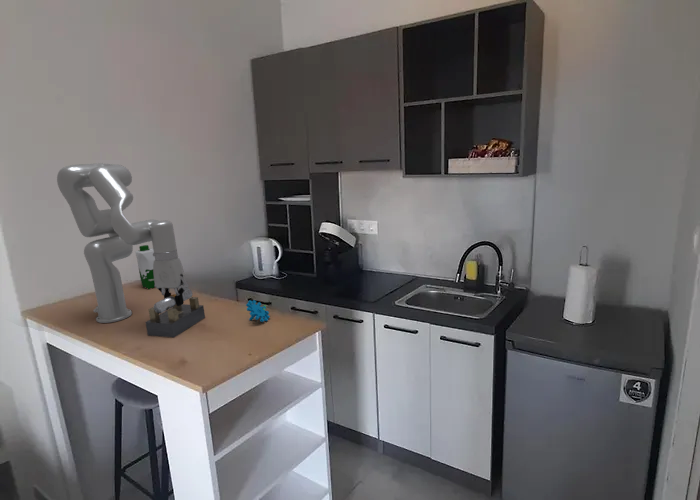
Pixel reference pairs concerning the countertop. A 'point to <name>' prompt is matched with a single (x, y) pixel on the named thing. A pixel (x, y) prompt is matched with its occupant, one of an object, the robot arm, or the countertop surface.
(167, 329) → the grey plate with feet
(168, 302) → the tube
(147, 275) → the milk carton
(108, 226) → the robot arm
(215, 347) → the countertop surface
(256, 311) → the gear
